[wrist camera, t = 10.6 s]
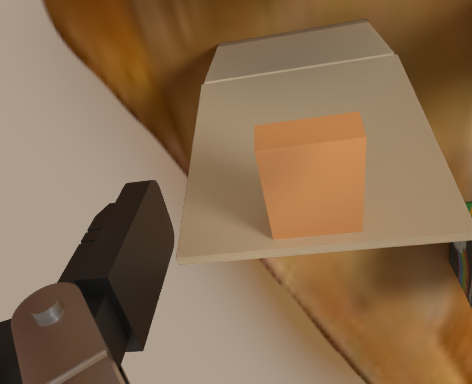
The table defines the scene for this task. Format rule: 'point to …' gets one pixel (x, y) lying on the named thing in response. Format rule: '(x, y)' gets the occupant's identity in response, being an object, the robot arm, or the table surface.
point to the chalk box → (463, 262)
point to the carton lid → (316, 167)
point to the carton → (297, 51)
